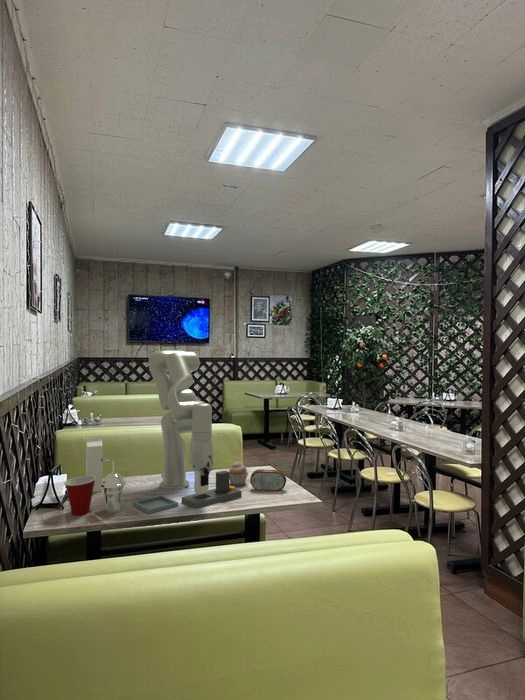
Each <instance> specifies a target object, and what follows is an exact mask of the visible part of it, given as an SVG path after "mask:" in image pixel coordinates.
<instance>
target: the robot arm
mask: <svg viewBox="0 0 525 700" xmlns="http://www.w3.org/2000/svg"><path fill="white" fill-rule="evenodd" d="M200 363H201V362H200V358H199V356H198V355H197V354H196V352H193V351H188V350H177V349H175V350H173V349H172V350H156V351H155V350H154V351H153V352H151V354H150V355H149V358H148V368H149V373H150V375H151V377H152V378H153V380H154V382H155V385H156V390H157V396H158V399H159V404H160V406H161V407H160V408H161V409H162V411H165V412H167V413H164V415H163V416H162V417H161V419H160V426H161V432H162V440H163V441H162V445H163V446H162V447H163V448H162V449H163V452H162V453H163V454H162V457H163V459H162V463H163V465H162V466H163V467H162V469H163V470H162V471H163V472H162V473H163V474H161V475H160V477H161V478H162V481H160V482H159V485H158V486H159V487H160V488H161V489H165V490H179V489H180V490H181V489H186V488H188V487H190V481H189V480H187V478H186V477H187V476H186V475H187V470H186V469H187V467H186V465H187V458H186V457H187V456H186V455H187V452H186V451H187V445H186V441H185V440H184V438H183V437H182V435H183V434H191V440H190V444H189V454H188V455H189V456H188V458H189V460H188V462H189V464H190V465H191V466H192V468H193V471H194V474H195V466H196V467H199V468H201V469H202V475H201V486H205V485H208V475H209V476H210V473H211V472H212V471H213V470H214V466H213V465H214V448H213V441H212V440H213V439H212V438H213V437H212V436H213V435H212V433H213V431H212V430H213V427H212V425H213V420H212V419H213V418H212V417H213V416H212V415H213V414H212V413H213V409H212V407H213V406H212V404H210V403H206V402H205V401H202V400H197V396H196V394H195V392H194V390H192V389H190V387H191V386H192V385H193V382H194V378H193V375H192V373H191V372H196V371H197V370H198V369H199V368H200ZM205 468H206V469H205ZM204 469H205V471H204Z"/></svg>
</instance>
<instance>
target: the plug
mask: <svg viewBox="0 0 525 700" xmlns="http://www.w3.org/2000/svg"><path fill="white" fill-rule="evenodd" d="M205 469H206V468H205ZM205 469H204V471H205ZM201 475H202V469H201V468H199V467H196V466H195V473H194V483H193V484H194V486H193V487H194V488H193V489H194V491H193V493H194V494H201V493H206V492H209V490H210V488H209V481H210V480H209V479H210V474H209V475H208V485H205V486H201Z"/></svg>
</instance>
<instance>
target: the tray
mask: <svg viewBox="0 0 525 700" xmlns="http://www.w3.org/2000/svg"><path fill="white" fill-rule="evenodd" d="M132 506H133V507H136V508H137V509H138V510H139V509H140V510H141V511H142V512H144V513H146V514H147V515H150V514H155V513H158V512H163V511H165V510H166V511H167V510H169V509H173V508H176V507H179V502H178V501H176V500H173V499H171V498H169V497H167V496H165V495H164V494H160V495H156V496H152V497H151V496H150V497H147V498H143V499H139V500H135V501H133V502H132Z"/></svg>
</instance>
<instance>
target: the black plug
mask: <svg viewBox="0 0 525 700" xmlns="http://www.w3.org/2000/svg"><path fill="white" fill-rule="evenodd" d="M229 486H230V479H229V470H221V471H218V472H217V471H216V472H215V489H216V493H218V494H223V493H227V492H229Z"/></svg>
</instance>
